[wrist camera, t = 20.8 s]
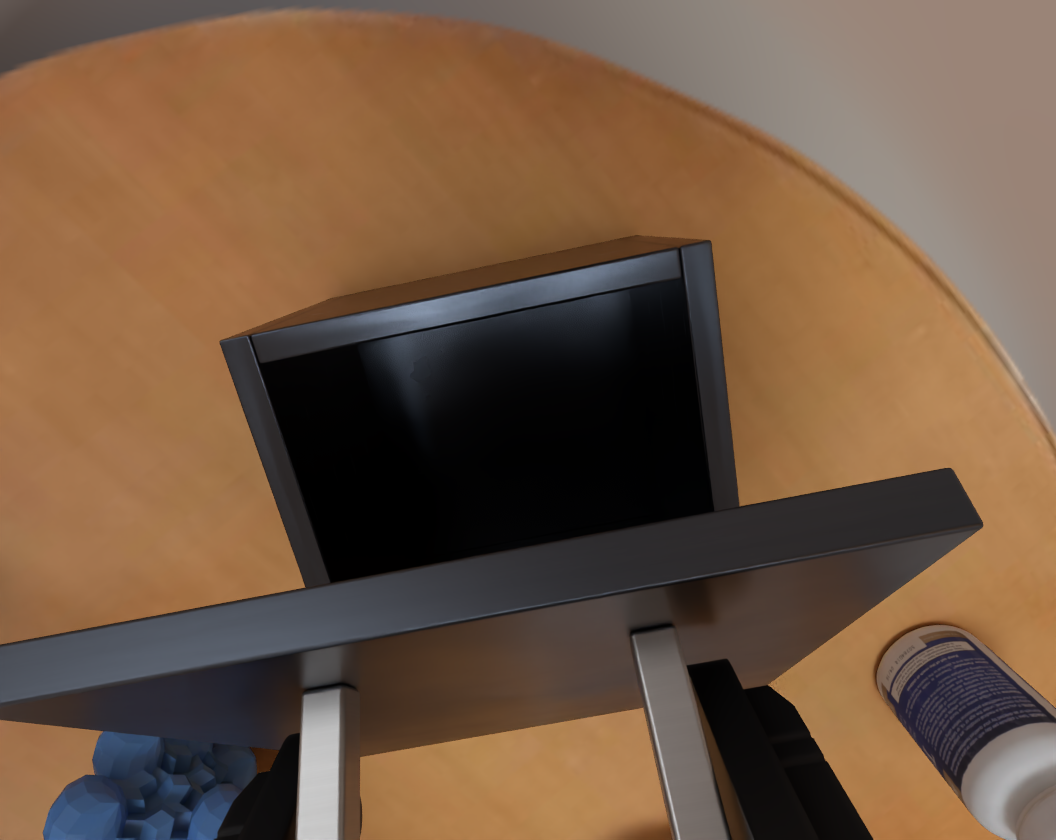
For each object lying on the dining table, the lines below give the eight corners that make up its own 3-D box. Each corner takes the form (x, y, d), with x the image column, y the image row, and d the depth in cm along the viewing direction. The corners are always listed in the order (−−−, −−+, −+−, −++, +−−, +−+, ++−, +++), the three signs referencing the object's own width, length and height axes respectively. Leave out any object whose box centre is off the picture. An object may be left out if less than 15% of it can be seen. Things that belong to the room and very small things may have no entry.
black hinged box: (329, 298, 25) (218, 341, 16) (637, 234, 25) (711, 239, 15) (408, 567, 29) (355, 732, 19) (677, 517, 28) (756, 661, 19)
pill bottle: (852, 692, 31) (994, 889, 22) (909, 606, 30) (1086, 779, 21) (943, 722, 32) (1117, 926, 23) (1002, 640, 30) (1215, 821, 21)
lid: (-30, 648, 8) (-264, 1390, 5) (953, 464, 7) (1355, 1172, 4) (352, 729, 19) (351, 974, 16) (757, 657, 19) (834, 897, 16)
